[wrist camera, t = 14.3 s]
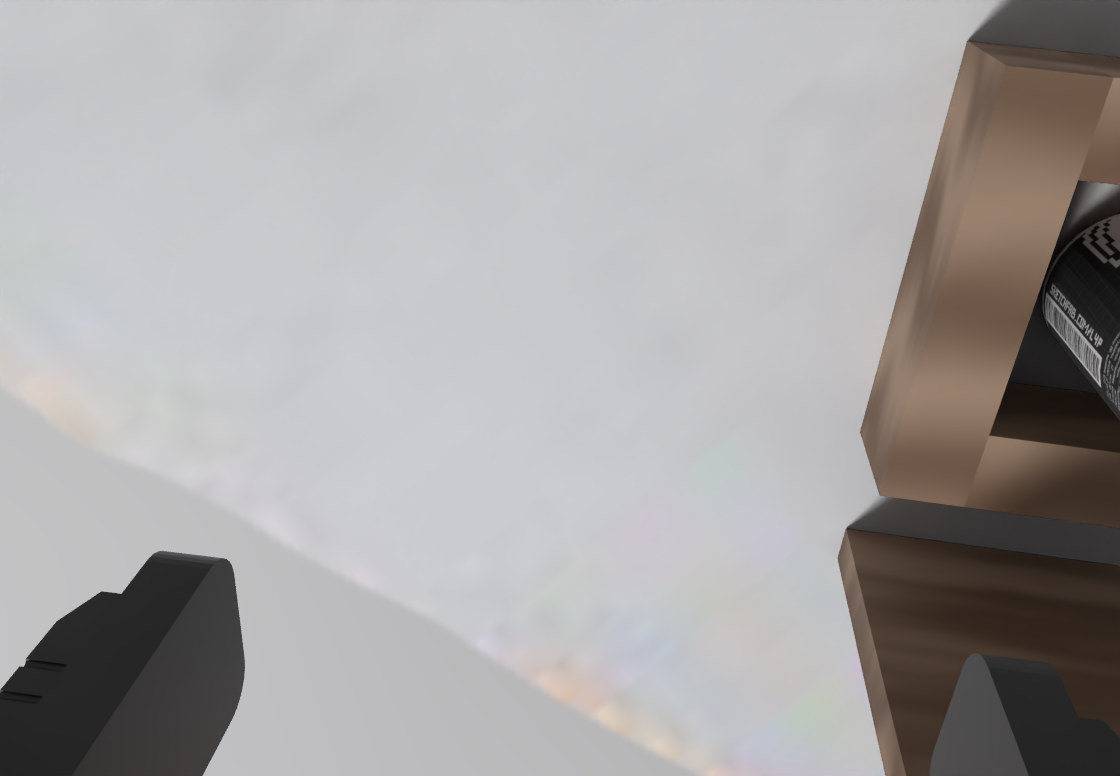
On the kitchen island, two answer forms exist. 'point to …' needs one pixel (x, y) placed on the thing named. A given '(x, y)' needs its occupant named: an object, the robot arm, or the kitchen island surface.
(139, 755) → the robot arm
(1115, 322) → the beverage can
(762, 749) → the kitchen island surface
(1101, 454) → the socket block
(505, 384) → the kitchen island surface
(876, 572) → the grey-capped wooden panel
